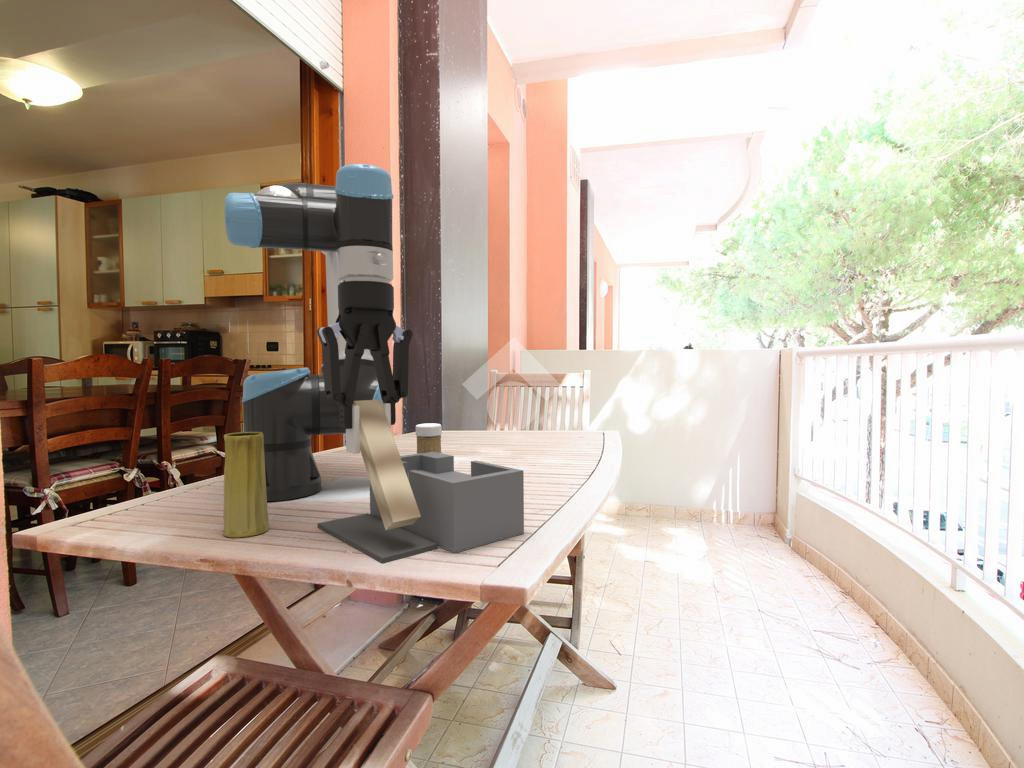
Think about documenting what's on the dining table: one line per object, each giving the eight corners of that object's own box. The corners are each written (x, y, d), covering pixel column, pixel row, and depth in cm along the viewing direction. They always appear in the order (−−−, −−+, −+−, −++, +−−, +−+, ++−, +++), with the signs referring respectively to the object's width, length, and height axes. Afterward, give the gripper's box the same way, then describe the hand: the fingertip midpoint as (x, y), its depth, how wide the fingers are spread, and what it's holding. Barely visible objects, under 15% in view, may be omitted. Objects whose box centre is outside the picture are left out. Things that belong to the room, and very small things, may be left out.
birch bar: (347, 410, 78) (354, 400, 77) (373, 408, 81) (380, 399, 79) (385, 530, 71) (393, 522, 69) (412, 524, 74) (420, 516, 72)
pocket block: (370, 516, 88) (369, 460, 88) (434, 503, 96) (433, 451, 96) (454, 553, 71) (453, 483, 71) (523, 533, 79) (523, 470, 78)
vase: (257, 523, 85) (255, 430, 85) (277, 530, 81) (274, 433, 81) (215, 532, 81) (212, 434, 80) (234, 541, 77) (231, 437, 76)
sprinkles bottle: (434, 495, 102) (433, 422, 102) (447, 499, 99) (446, 424, 98) (411, 499, 99) (410, 424, 99) (425, 504, 96) (423, 426, 95)
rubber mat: (317, 527, 83) (317, 523, 83) (367, 517, 88) (367, 513, 88) (382, 563, 68) (382, 558, 68) (437, 548, 73) (437, 543, 73)
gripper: (315, 273, 69) (320, 461, 70) (433, 284, 80) (435, 446, 81) (293, 280, 74) (297, 454, 75) (406, 290, 86) (408, 441, 87)
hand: (369, 450), depth 78 cm, fingers closed on birch bar, 4 cm apart
